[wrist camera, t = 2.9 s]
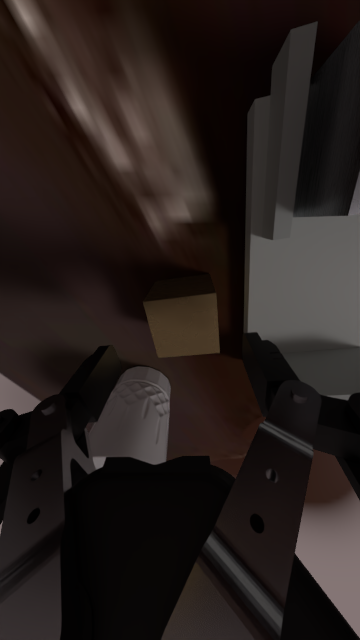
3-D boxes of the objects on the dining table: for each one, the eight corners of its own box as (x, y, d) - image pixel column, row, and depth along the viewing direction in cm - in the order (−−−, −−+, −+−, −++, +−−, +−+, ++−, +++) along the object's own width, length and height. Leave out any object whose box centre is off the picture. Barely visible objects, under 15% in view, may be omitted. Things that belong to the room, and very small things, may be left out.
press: (248, 89, 10) (312, -66, 5) (473, 29, 9) (955, -300, 3) (243, 360, 20) (262, 414, 15) (349, 352, 19) (416, 409, 13)
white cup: (136, 351, 21) (96, 445, 12) (187, 383, 23) (183, 483, 14) (105, 384, 24) (55, 477, 15) (152, 410, 26) (132, 504, 18)
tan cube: (209, 273, 16) (216, 293, 12) (213, 321, 18) (219, 352, 14) (155, 280, 17) (142, 302, 12) (166, 326, 19) (158, 357, 15)
